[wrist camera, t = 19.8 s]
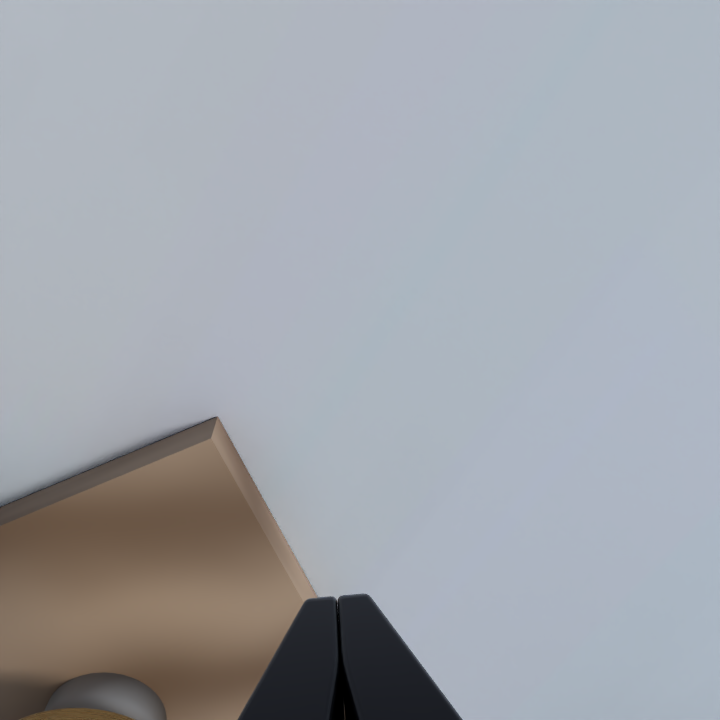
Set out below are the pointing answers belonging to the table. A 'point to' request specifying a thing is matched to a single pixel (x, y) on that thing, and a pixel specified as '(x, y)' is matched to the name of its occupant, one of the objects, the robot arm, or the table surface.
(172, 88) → the table surface
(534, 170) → the table surface
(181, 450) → the base
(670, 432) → the table surface
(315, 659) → the robot arm
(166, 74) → the table surface
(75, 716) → the beige elongated piece
